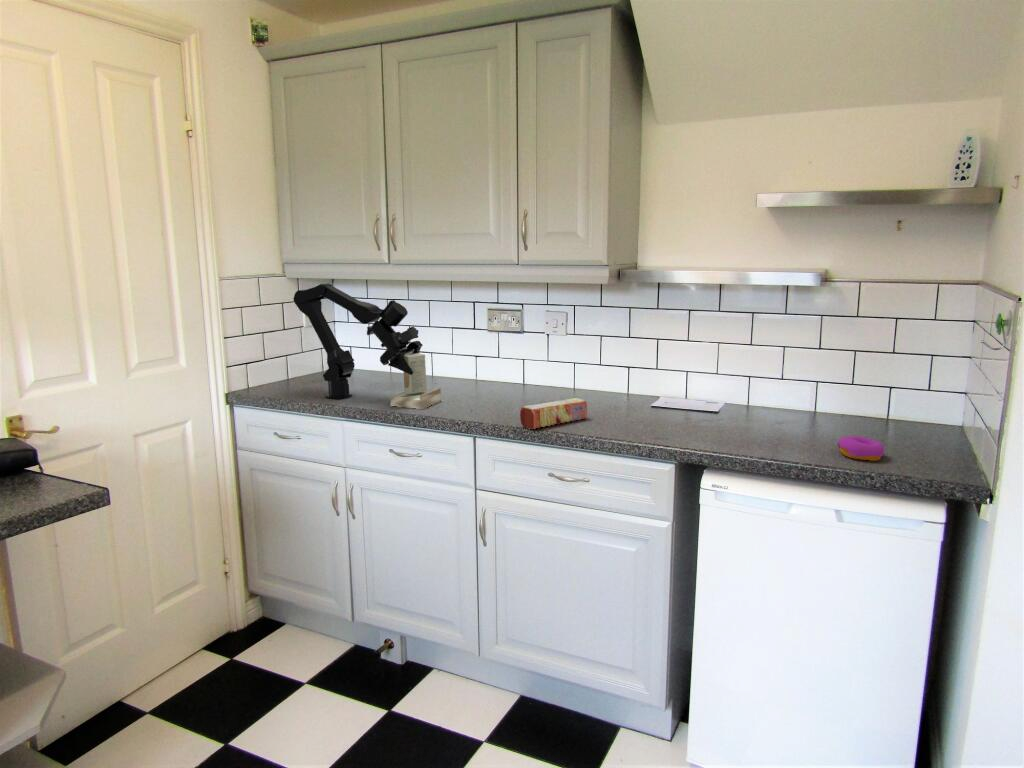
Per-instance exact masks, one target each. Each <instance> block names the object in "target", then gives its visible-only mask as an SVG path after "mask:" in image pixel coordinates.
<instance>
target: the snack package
mask: <svg viewBox="0 0 1024 768" xmlns="http://www.w3.org/2000/svg"><path fill="white" fill-rule="evenodd" d="M587 417H588V404H587V401H586V400H584V399H582V398H576V397H573V398H567V399H562V400H554V401H549V402H545V403H543V402H542V403H538V404H529V405H524V406H522V407H521V408H520V413H519V418H520V423H521V426H522V427H523V426H524V427H523V428H525V427H528V428H530V429H534V430H537V429H536V428H538V429H541V428H540V427H543V428H546V427H545V426H548V427H552V426H556V425H555V424H557V425H561V424H560V423H562V424H566V423H565V422H567V423H571V422H570V421H572V422H576V421H575V420H578V421H582V420H581V419H584V420H586V419H587ZM551 425H552V426H551ZM530 429H529V430H530Z"/></svg>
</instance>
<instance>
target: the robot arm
mask: <svg viewBox="0 0 1024 768" xmlns="http://www.w3.org/2000/svg"><path fill="white" fill-rule="evenodd" d="M325 298H326V299H328V300H329V301H331V302H332V303H333V304H336V305H338V306H340V307H342V308H343V309H344V310H347V311H348V312H349V313H351V314H352V317H354V318H355V319H356V320H357V321H358V322H359V323H361V324H363V325H366V324H371V323H372V325H371V326H367V327H366V335H367V336H372V335H375V337H376V338H377V339H378V340H379V342H380V343H381V344H380V346H381V347H382V348H386V350H385V351H384V352H383V353H382V354H380V357H379V362H380V363H381V364H382V366H388V367H392V368H395V369H397V370H399V371H401V372H403V373H404V372H406V373H408V374H410V375H412V374H413V371H412V369H411V368H410V366H409V365H408V364H407V362H406V361H405V359H404V355H408V354H416V353H420V351H421V350H422V347H423V344H422V342H421V341H420V340H414V339H418V338H419V330H418V329H417V328H416V327H415V326H410V327H408V328H406V330H405V331H403V332H401V331H397V332H396V330H395V329H394V328H393V327H398V326H399V325H400V323H401V322H402V321H403V320H404V319H405V318H406V317H407V316H408V310H407V308H406V307H405V306H403V304H401V303H399V302H396V300H395V299H393V300H389V302H388V303H387V305H386V306H385V307H384V308H382V309H381V308H380V307H379V306H378V305H376V304H373V303H370V302H367V301H362V300H358V299H357V298H355V297H353V296H352V295H350V294H347V293H346V292H344V291H342V290H341V289H339V288H336V286H333V285H332V284H331V283H329V282H328V283H320V284H318V285H316V286H313V287H310V288H308V289H307V288H306V289H299V290H297V291H295V293H294V295H293V302H294V304H295V305H296V307H297V309H298V310H299V311H300V312H301V313H303V314H304V315H305V316H306V317H307V318H308V319H309V323H311V326H312V327H313V329H314V331H315V334H316V335H317V337H318V339H319V342H320V343H321V345H322V347H323V349H324V351H325V352H326V356H327V357H326V364H327V367H328V368H327V370H326V371H325V372H324V373H323V374H322V377H323V380H324V381H325V382H327V385H328V394H327V395H325V398H328V399H336V400H341V399H345V398H348V397H352V395H353V394H352V393H350V384H349V379H348V378H350V379H351V378H352V374H353V371H354V370H355V359H354V358H353V356H352V354H351V351H350V350H344V349H343V348H341V346H340V344H339V342H338V340H337V339H336V337H335V335H334V333H333V331H332V329H331V327H330V324H329V323H328V321H327V319H326V317H325V315H324V314H323V313H324V312H323V311H322V306H323V305H322V300H324V299H325ZM412 340H413V341H412Z"/></svg>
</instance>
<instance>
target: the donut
mask: <svg viewBox="0 0 1024 768" xmlns="http://www.w3.org/2000/svg"><path fill="white" fill-rule="evenodd" d="M837 446H838V450H839V451H840V453H841V454H843V456H845V457H846V456H847V457H846V458H849V459H852V458H853V460H858V459H859V461H860V460H861V461H866V460H869V461H868V462H877V461H879V460H881V458H882V457H883V456H884V455H885V448H884V445H883V443H881V442H880V441H877V440H874V439H871V438H868V437H865V436H859V435H858V436H855V435H854V436H853V435H850V436H843V437H841V438H840V439H838V442H837Z"/></svg>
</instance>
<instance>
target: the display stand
mask: <svg viewBox="0 0 1024 768" xmlns="http://www.w3.org/2000/svg"><path fill="white" fill-rule="evenodd" d="M441 389H442V388H441V387H437V388H435V389H432V390H430V391H423V392H416V393H408V392H405V391H403V392H401V393H398V394H395V395H393V396H390V397H389V399H390V400H389V401H390V407H391V406H397V407H396V408H401V407H406V408H405V409H412V408H416V409H415V410H425V408H426V409H427V407H428V408H430V407H432V406H434V405H437V404H438V402H439V403H440V401H441V402H442V395H441V394H442V390H441ZM436 403H437V404H436ZM431 405H432V406H431ZM429 406H430V407H429Z"/></svg>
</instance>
